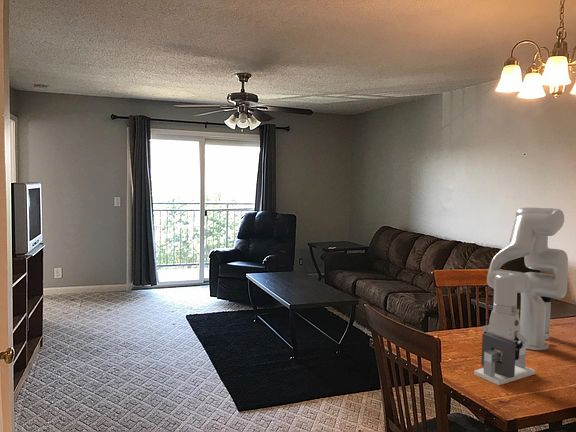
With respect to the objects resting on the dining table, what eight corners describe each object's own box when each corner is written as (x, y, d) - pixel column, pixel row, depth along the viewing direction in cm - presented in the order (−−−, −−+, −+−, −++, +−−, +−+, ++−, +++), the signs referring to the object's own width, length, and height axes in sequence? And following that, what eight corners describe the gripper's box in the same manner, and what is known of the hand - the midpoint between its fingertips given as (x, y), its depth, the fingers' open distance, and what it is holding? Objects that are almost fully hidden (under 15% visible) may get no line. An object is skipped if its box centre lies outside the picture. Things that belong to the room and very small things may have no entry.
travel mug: (552, 339, 203) (554, 295, 202) (536, 338, 205) (538, 294, 203) (547, 334, 209) (549, 292, 208) (531, 333, 211) (533, 291, 209)
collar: (484, 364, 169) (486, 333, 168) (514, 376, 159) (515, 343, 158) (481, 365, 168) (482, 333, 167) (510, 377, 158) (512, 344, 157)
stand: (509, 364, 175) (510, 347, 174) (534, 374, 166) (535, 356, 165) (474, 374, 165) (474, 357, 165) (498, 385, 156) (499, 366, 156)
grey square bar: (517, 351, 171) (518, 342, 171) (526, 354, 168) (526, 345, 168) (483, 360, 162) (483, 351, 162) (491, 363, 159) (492, 354, 159)
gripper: (534, 313, 157) (531, 361, 158) (490, 301, 172) (488, 346, 174) (520, 316, 154) (518, 365, 155) (477, 304, 169) (475, 349, 170)
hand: (502, 355), depth 164 cm, fingers open, 9 cm apart
